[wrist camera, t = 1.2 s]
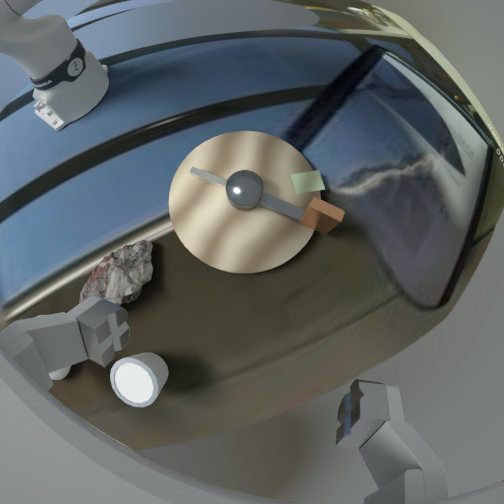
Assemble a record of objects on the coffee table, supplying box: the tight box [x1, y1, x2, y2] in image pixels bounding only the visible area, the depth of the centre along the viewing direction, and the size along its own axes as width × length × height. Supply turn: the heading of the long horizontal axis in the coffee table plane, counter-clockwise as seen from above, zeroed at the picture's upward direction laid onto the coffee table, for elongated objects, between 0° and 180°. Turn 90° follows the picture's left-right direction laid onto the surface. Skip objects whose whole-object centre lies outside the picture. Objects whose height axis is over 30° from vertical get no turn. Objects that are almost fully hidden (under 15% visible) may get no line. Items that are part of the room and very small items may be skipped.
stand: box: [169, 131, 325, 274], centre depth 39 cm, size 22×22×2 cm
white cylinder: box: [110, 352, 169, 407], centre depth 32 cm, size 7×7×7 cm
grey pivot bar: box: [189, 166, 345, 235], centre depth 34 cm, size 21×5×7 cm, turn 65°
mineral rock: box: [79, 240, 153, 306], centre depth 35 cm, size 15×8×4 cm, turn 120°
